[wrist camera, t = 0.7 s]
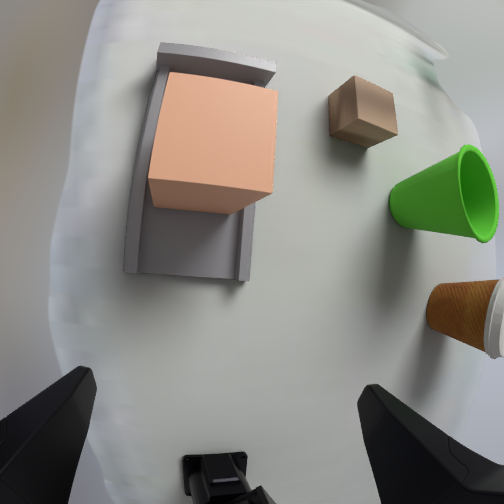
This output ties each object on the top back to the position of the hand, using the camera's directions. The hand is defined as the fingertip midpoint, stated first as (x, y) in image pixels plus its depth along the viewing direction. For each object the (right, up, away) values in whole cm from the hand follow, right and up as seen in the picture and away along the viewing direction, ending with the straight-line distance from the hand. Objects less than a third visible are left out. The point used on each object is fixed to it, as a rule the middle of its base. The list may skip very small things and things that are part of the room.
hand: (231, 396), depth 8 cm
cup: (+18, +10, +22) cm, 30 cm away
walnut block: (+11, +18, +19) cm, 29 cm away
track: (-4, +12, +15) cm, 20 cm away
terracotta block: (-4, +10, +14) cm, 18 cm away
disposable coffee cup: (+26, -3, +24) cm, 35 cm away
